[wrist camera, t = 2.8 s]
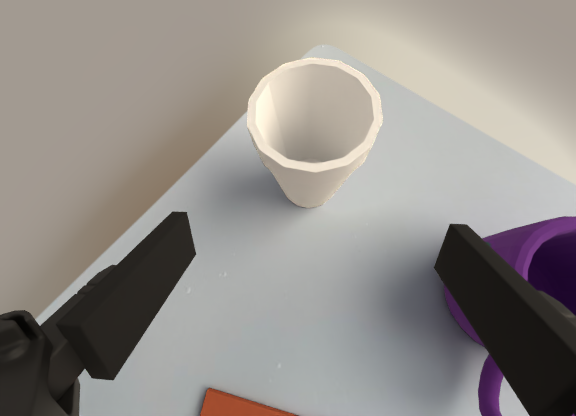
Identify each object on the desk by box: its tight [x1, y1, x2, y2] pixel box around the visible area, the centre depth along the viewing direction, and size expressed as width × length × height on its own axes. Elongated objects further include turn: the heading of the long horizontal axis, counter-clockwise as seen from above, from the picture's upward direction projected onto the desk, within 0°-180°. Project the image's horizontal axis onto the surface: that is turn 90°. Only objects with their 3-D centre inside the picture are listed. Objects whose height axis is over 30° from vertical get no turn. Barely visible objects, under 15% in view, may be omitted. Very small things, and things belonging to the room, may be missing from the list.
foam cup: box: [247, 57, 383, 208], centre depth 23 cm, size 10×9×13 cm
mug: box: [444, 216, 576, 416], centre depth 19 cm, size 17×11×10 cm, turn 155°
